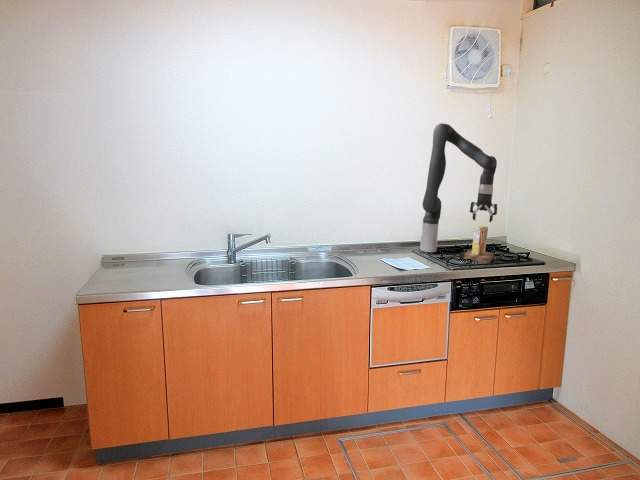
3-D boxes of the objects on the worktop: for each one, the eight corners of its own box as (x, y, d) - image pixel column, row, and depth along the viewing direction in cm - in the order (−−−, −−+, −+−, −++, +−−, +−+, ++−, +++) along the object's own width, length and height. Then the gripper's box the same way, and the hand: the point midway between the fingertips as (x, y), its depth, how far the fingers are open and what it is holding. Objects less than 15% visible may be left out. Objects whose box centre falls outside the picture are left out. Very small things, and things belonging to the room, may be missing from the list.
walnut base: (463, 259, 263) (463, 254, 263) (468, 254, 275) (468, 249, 275) (489, 263, 257) (489, 257, 256) (493, 258, 269) (493, 253, 268)
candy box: (478, 252, 270) (481, 226, 267) (485, 253, 267) (488, 227, 264) (471, 254, 264) (473, 227, 261) (478, 255, 261) (480, 228, 258)
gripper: (470, 191, 258) (467, 220, 262) (497, 194, 252) (494, 223, 255) (473, 190, 265) (470, 219, 268) (499, 193, 258) (496, 221, 262)
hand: (482, 221), depth 262 cm, fingers open, 8 cm apart
